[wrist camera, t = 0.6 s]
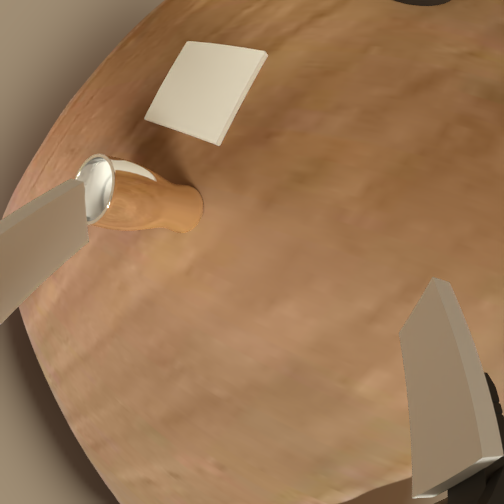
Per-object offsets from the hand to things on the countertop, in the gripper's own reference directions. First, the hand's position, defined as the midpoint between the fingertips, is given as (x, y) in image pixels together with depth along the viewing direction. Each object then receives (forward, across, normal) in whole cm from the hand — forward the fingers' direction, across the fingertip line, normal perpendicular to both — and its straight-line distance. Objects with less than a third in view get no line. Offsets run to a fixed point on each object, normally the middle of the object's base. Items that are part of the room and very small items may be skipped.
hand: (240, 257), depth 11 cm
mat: (+33, -15, +2) cm, 36 cm away
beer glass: (+25, -12, -12) cm, 30 cm away
